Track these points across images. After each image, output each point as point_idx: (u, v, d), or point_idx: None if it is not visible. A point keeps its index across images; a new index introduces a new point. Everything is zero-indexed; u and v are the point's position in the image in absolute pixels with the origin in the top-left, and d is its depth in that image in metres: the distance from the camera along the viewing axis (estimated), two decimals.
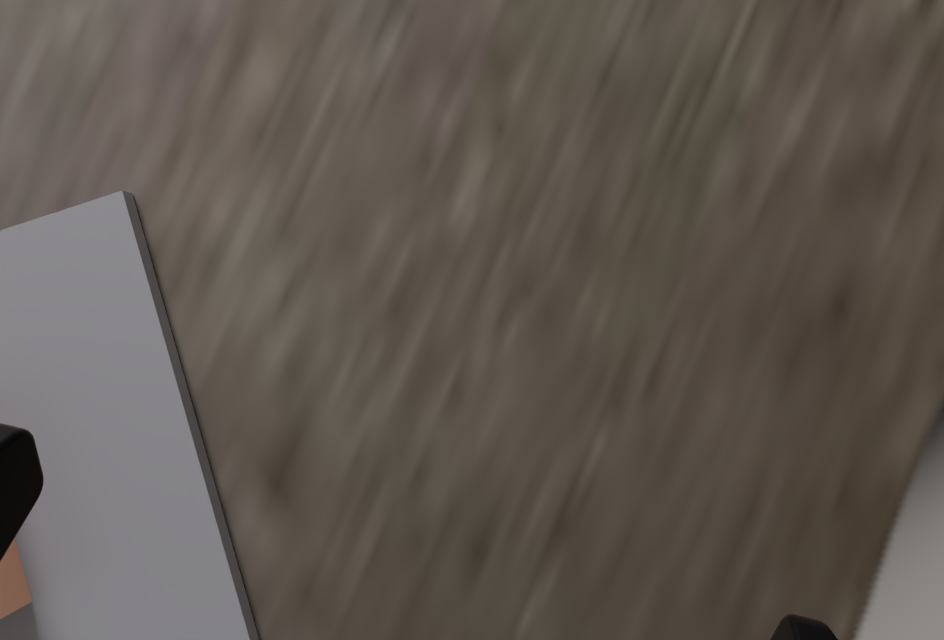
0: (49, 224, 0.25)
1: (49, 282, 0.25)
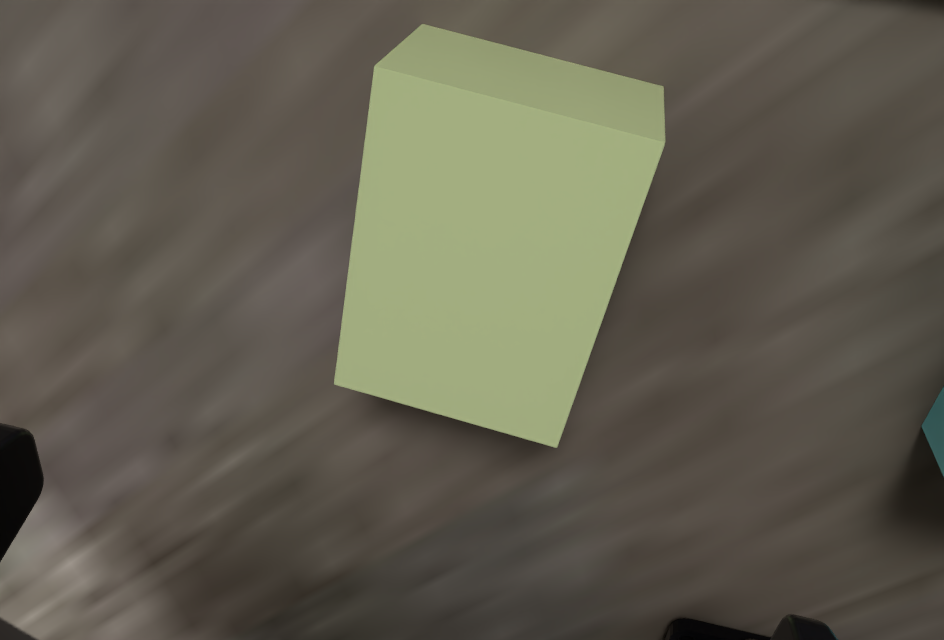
0: None
1: None
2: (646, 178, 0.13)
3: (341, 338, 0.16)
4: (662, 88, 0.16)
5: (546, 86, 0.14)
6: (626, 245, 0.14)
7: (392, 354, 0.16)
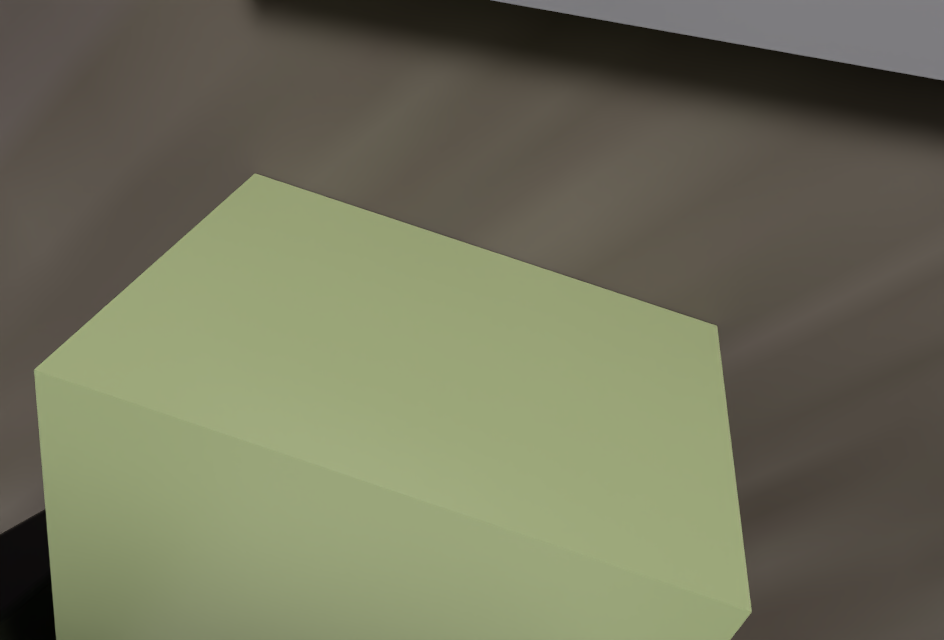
0: None
1: None
2: None
3: None
4: (717, 345, 0.08)
5: (474, 383, 0.06)
6: None
7: None
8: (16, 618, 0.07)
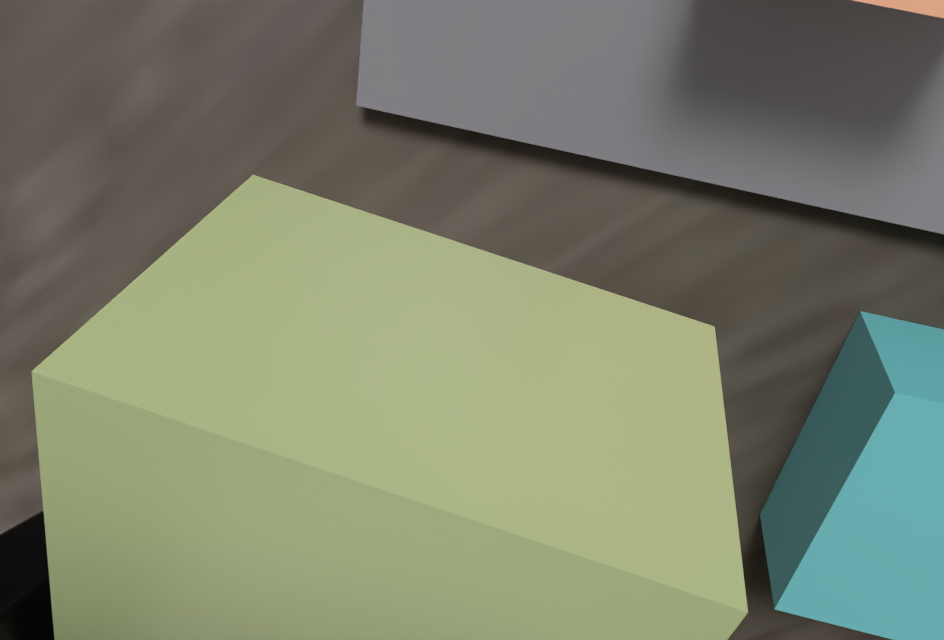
0: None
1: None
2: None
3: None
4: (714, 346, 0.08)
5: (472, 386, 0.06)
6: None
7: None
8: (16, 618, 0.07)
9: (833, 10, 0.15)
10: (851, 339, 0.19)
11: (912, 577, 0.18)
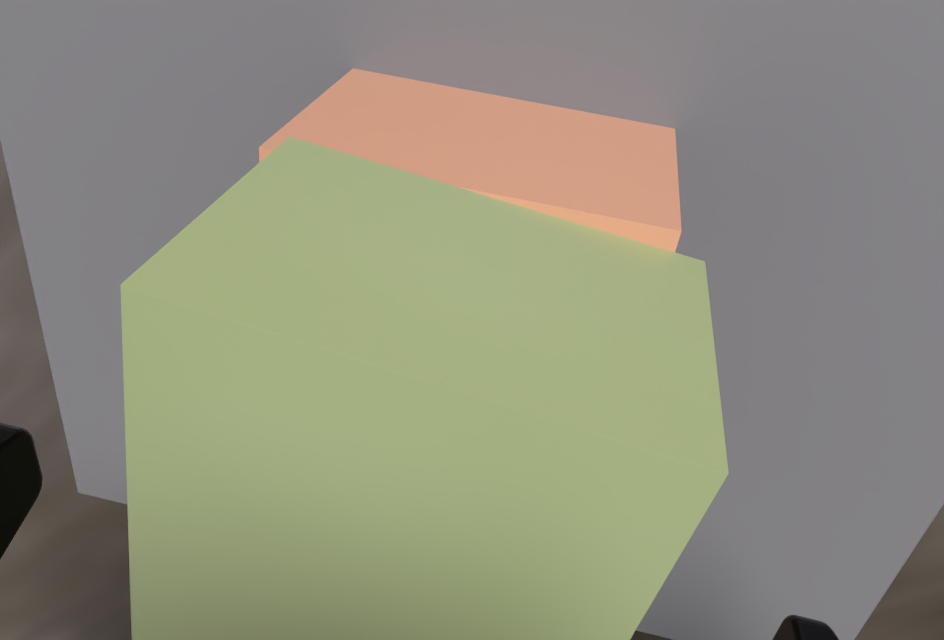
0: None
1: None
2: (683, 528, 0.06)
3: None
4: (705, 276, 0.09)
5: (489, 302, 0.07)
6: (636, 621, 0.07)
7: None
8: None
9: None
10: None
11: None
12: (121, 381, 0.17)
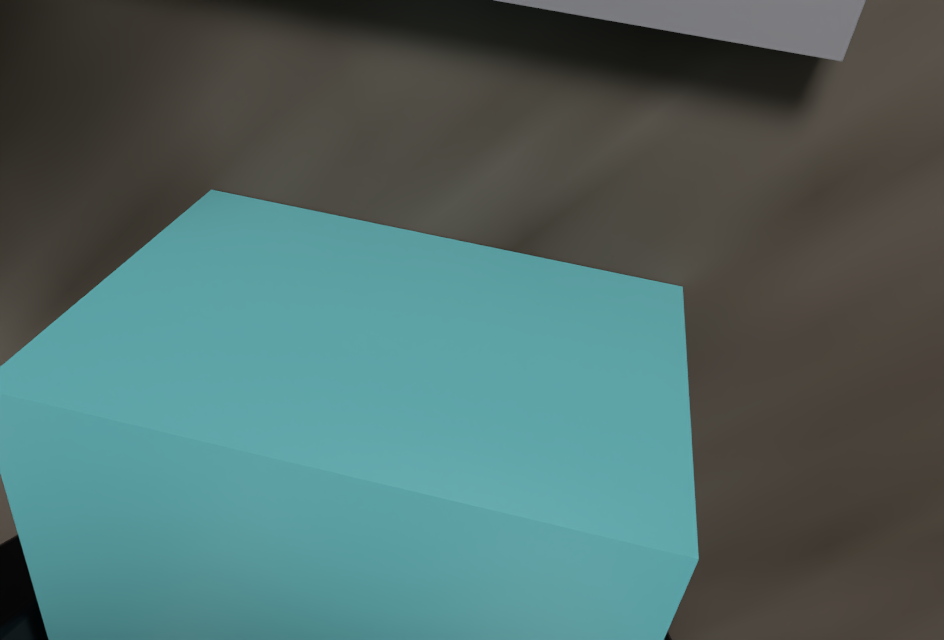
0: None
1: None
2: None
3: None
4: None
5: None
6: None
7: None
8: (30, 621, 0.07)
9: None
10: None
11: None
12: None
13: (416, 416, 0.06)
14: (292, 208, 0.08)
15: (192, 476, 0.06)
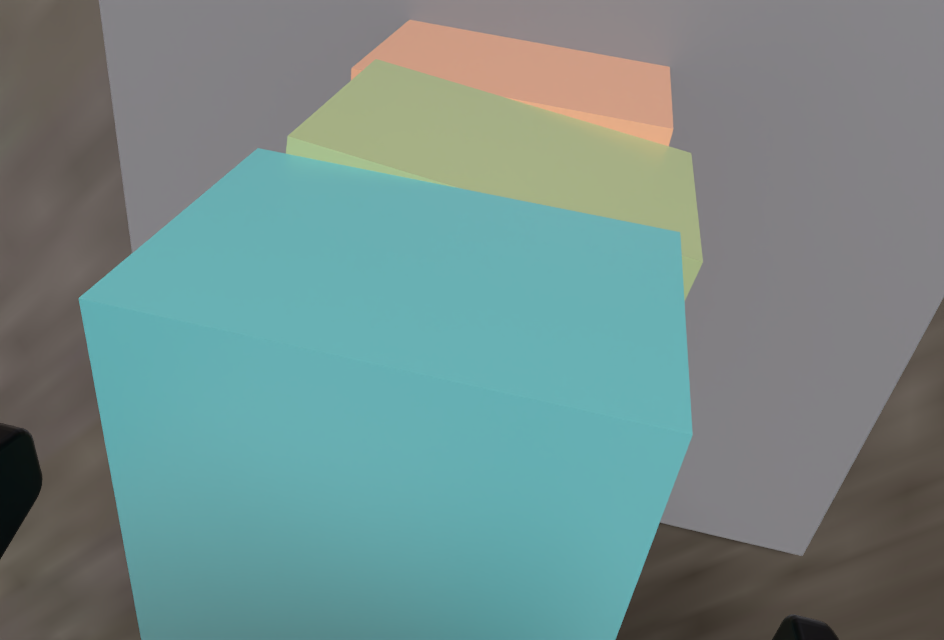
0: None
1: None
2: None
3: None
4: (690, 161, 0.12)
5: (534, 163, 0.10)
6: None
7: None
8: None
9: None
10: None
11: None
12: None
13: (449, 327, 0.07)
14: (330, 164, 0.09)
15: (263, 373, 0.06)
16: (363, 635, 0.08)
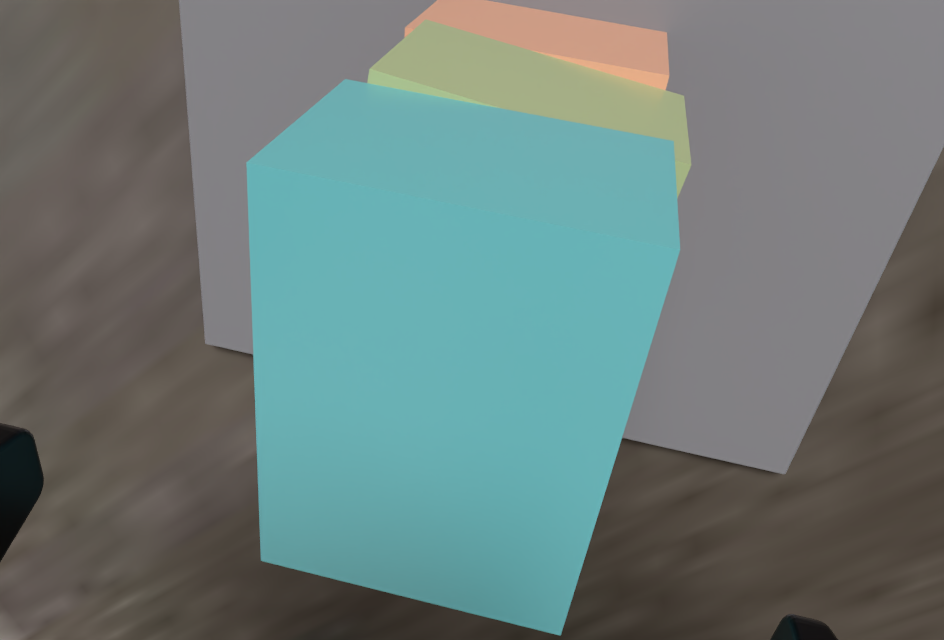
0: None
1: None
2: None
3: None
4: (683, 101, 0.14)
5: (559, 96, 0.13)
6: None
7: None
8: None
9: None
10: None
11: (417, 502, 0.12)
12: None
13: (507, 188, 0.09)
14: (402, 91, 0.12)
15: (375, 217, 0.09)
16: (434, 439, 0.11)
